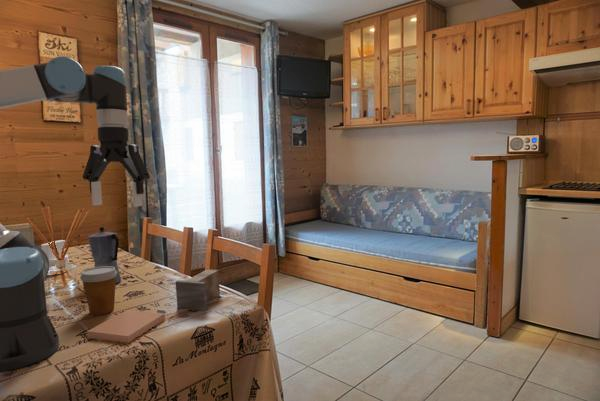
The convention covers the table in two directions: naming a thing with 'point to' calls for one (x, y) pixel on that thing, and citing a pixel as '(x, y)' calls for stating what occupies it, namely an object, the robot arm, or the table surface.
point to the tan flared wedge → (198, 290)
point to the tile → (126, 326)
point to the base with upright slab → (50, 254)
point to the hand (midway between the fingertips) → (117, 205)
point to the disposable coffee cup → (99, 288)
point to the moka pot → (105, 250)
